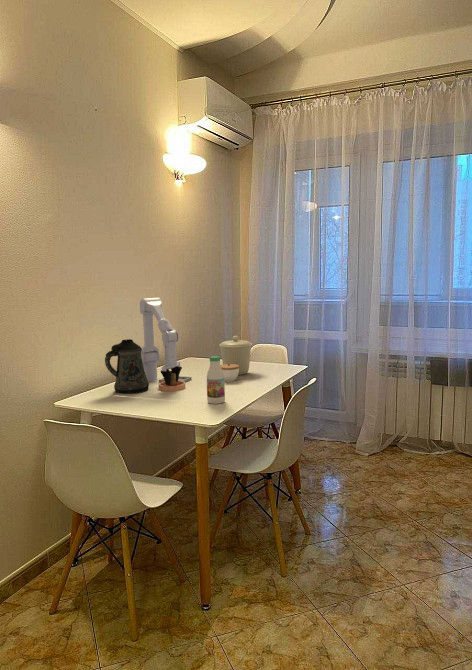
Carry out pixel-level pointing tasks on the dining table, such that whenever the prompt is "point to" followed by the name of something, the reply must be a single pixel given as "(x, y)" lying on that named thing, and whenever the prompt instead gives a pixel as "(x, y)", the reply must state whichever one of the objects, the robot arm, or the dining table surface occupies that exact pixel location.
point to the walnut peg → (173, 379)
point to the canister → (236, 353)
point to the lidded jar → (230, 372)
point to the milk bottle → (215, 382)
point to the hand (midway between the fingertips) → (171, 383)
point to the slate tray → (181, 378)
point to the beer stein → (128, 368)
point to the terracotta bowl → (179, 386)
